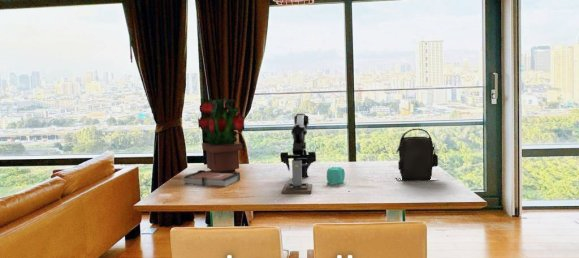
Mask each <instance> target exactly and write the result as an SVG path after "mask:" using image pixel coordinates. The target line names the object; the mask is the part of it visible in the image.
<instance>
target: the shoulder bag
mask: <svg viewBox="0 0 579 258" xmlns="http://www.w3.org/2000/svg"><path fill="white" fill-rule="evenodd" d="M417 130H418V131H423V132H425V133H426V134H427V135H428V136H405V135H407V134H408V133H409V132H412V131H417ZM435 147H436V143H433V140H432V137H431V135H430V133H429V132H428V130H425V129H423V128H411V129H409V130H407V131H405V132H404V133H402V135H401V137H400V140H399V145H398V148H397V150H396V153H398V155H399V157H398V158H399V159H398V166H397V167H398V171H399V174H400V177H402V180H401V179H400V178H399V179H400V180H399V179H396V180H397V181H398V182H400V181H402V182H403V181H405V182H410V180H413V181H414V180H430V179H431V177H433V176H432V175H433V168H434V167H435V168H436V167H438V166H439V162H438V161H439V155H438V154H437V153H436V151H435ZM407 180H408V181H407Z"/></svg>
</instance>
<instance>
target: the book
mask: <svg viewBox="0 0 579 258" xmlns="http://www.w3.org/2000/svg"><path fill="white" fill-rule="evenodd" d="M183 179H184V185H190V184H193V186H203V187H204V186H205V187H207V186H209V187H220V188H227V187H228V186H231V185H233V184H235V183H238V182H239V181H241V173H240V172H239V171H238V172H237V171H235V172H228V173H215V172H213V171H211V172H210V171H206V170H203V169H202V170H198V171H196V172H194V173H191V174H188V175H186V176H184V177H183Z"/></svg>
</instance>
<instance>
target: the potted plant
mask: <svg viewBox="0 0 579 258" xmlns="http://www.w3.org/2000/svg"><path fill="white" fill-rule="evenodd" d="M202 101H203V102H202V104H201V105H199V111H200V113H202V115H203V116H200V118H199V117H197V118H198V119H197V120H198V123H197V125H198V128H200V130H202V131H203V132H204V133H205V134H206V136H205V137H204V138H203V140H204V142H202V143H201V149H202V150H203V151H205V153H206V168H207V169H209V170H211V172H213V173H234V172H236V170H239V169H240V160H239V159H240V158H239V157H240V156H239V155H240V154H239V151H243V143H241V142H237V140H238V139H237V137H236V136H237V133H239V134H242V132H243V131H245V118H244V116H243V115H242V114H241V112H240V113H237V112H239V107H236V106H235V107H234V106H233V105H232V104H235V103H236V99H233V98H232V99H231V98H230V99H229V98H222V99H202ZM236 131H237V132H236Z"/></svg>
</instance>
